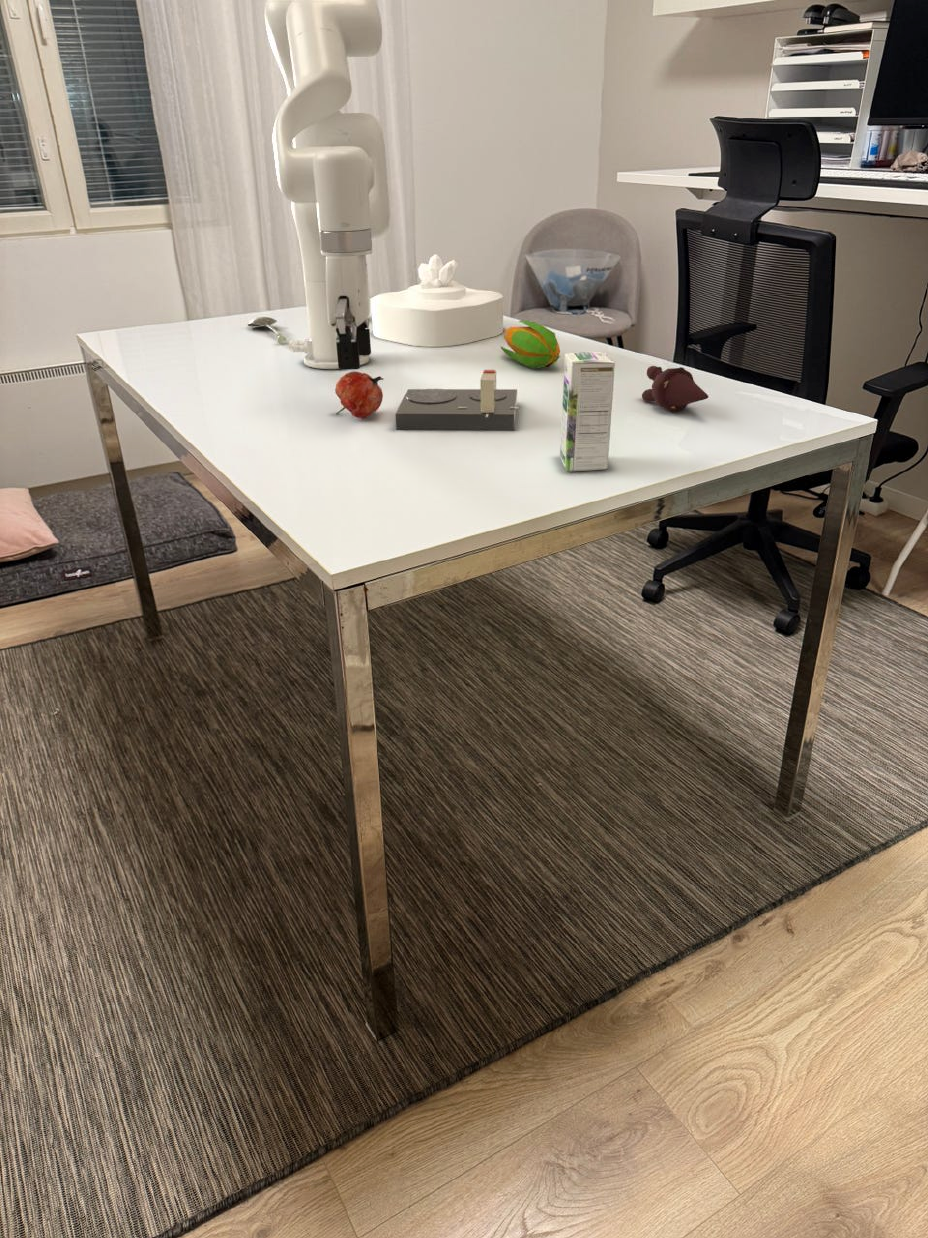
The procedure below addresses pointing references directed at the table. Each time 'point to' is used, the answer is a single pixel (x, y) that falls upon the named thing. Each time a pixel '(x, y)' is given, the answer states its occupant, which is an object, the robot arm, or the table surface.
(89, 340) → the table surface
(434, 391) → the hotplates
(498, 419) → the hob
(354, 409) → the pomegranate
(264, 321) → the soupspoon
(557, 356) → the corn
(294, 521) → the table surface
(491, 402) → the hob knob
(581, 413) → the syrup box
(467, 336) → the white cake
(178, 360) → the table surface
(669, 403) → the icecream
